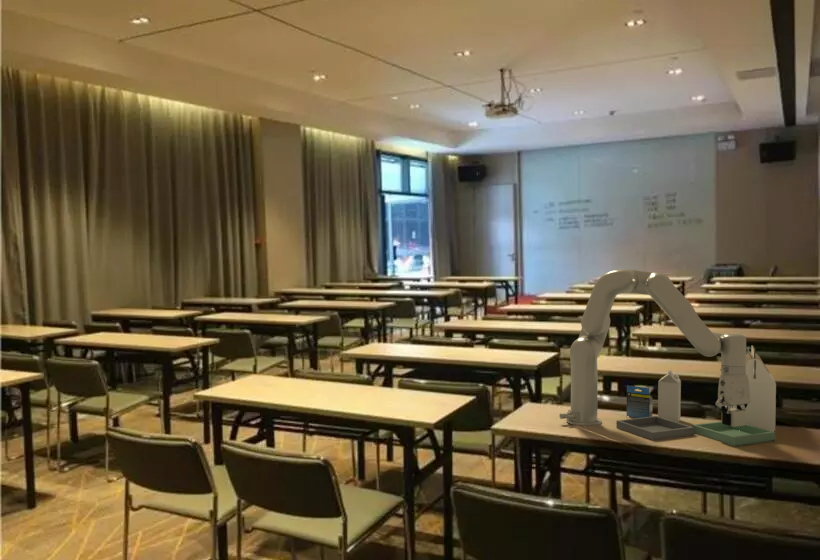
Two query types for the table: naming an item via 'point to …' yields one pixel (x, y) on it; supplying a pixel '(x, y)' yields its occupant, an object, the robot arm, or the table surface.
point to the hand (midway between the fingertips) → (732, 423)
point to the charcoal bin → (655, 427)
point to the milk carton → (669, 397)
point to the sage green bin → (734, 433)
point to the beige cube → (737, 417)
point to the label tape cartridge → (639, 402)
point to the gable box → (760, 393)
